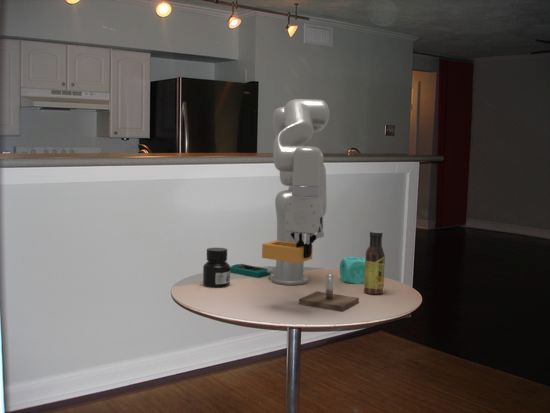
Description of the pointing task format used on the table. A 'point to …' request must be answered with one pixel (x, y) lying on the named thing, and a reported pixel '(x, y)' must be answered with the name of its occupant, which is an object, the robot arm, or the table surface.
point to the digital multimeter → (249, 270)
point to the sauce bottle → (374, 265)
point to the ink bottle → (216, 268)
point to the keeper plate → (327, 302)
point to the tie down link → (284, 251)
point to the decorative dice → (352, 270)
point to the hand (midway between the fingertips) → (303, 256)
